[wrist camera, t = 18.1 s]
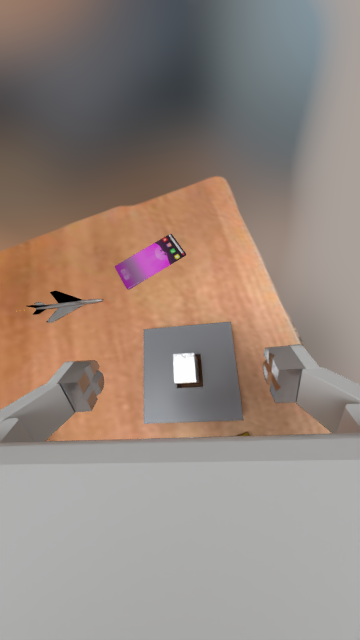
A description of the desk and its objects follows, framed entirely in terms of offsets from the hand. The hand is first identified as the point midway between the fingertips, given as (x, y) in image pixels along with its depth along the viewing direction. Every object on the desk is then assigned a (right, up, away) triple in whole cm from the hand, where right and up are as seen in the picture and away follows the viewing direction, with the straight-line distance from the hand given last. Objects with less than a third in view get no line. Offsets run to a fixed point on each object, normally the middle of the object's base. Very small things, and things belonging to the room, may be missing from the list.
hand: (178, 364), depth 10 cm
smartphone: (-7, +15, +37) cm, 41 cm away
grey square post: (+2, -7, +29) cm, 30 cm away
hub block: (+2, -7, +28) cm, 29 cm away
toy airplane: (-27, +5, +37) cm, 46 cm away
